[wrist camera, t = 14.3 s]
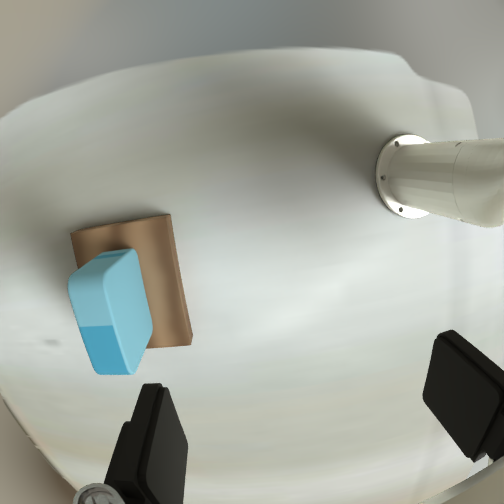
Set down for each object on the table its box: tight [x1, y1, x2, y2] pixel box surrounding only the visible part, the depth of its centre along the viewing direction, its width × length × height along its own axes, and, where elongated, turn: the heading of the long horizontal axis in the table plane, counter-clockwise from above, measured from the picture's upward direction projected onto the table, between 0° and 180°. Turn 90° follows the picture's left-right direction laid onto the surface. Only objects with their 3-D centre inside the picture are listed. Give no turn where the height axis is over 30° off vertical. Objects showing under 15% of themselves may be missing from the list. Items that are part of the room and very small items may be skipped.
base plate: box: [70, 214, 193, 349], centre depth 41 cm, size 14×18×3 cm
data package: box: [68, 248, 153, 375], centre depth 33 cm, size 12×4×12 cm, turn 6°
